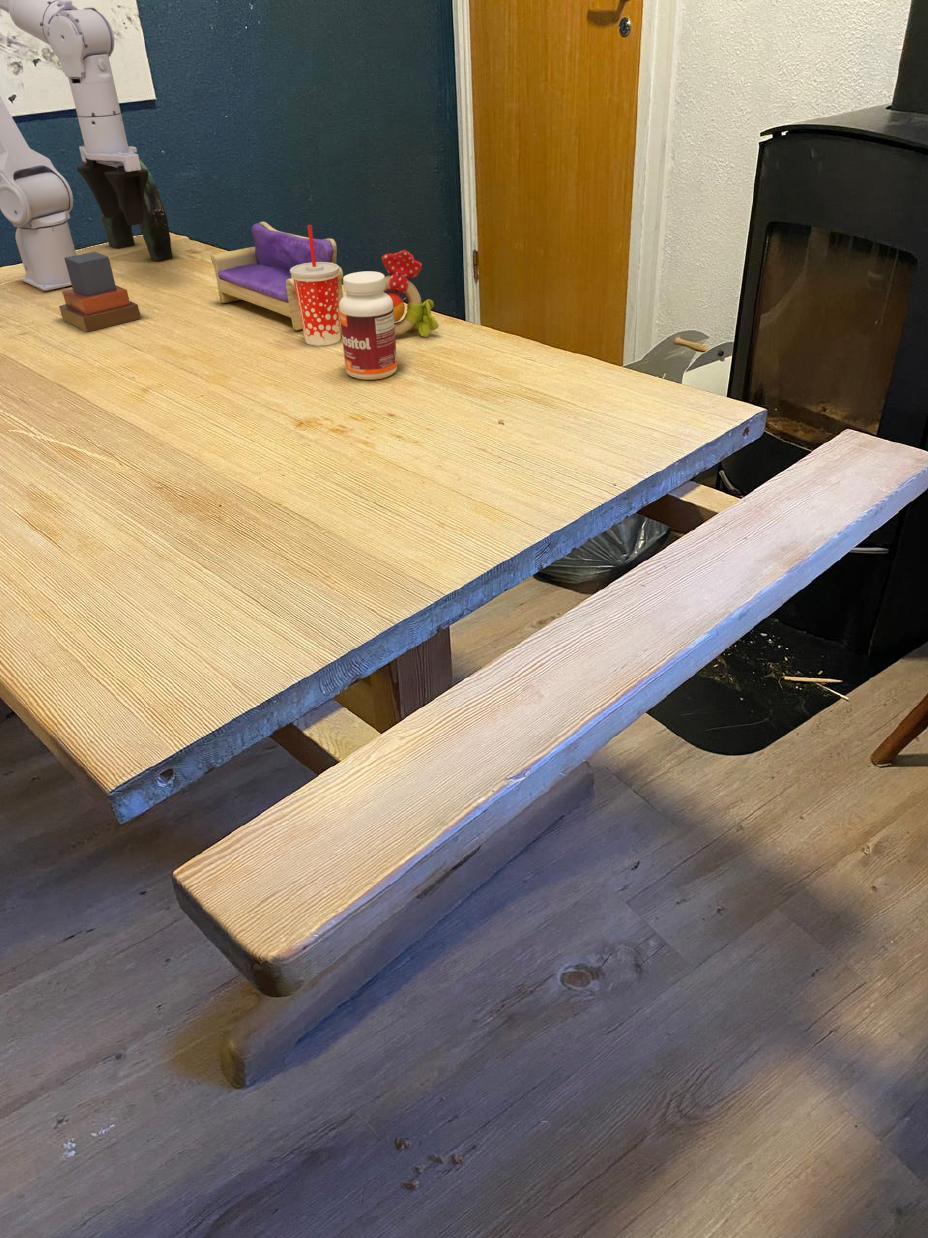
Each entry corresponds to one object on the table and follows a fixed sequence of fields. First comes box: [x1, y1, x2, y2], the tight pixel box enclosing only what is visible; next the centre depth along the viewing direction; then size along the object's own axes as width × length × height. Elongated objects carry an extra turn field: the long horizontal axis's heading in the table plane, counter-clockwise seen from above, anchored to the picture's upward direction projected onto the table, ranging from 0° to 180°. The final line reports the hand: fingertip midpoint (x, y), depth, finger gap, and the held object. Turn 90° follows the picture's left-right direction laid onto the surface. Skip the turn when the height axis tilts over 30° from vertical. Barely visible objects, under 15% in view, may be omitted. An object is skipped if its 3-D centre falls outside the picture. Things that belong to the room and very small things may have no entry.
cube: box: [64, 251, 117, 296], centre depth 124 cm, size 4×4×4 cm
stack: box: [58, 285, 142, 333], centre depth 127 cm, size 8×8×4 cm
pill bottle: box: [339, 270, 398, 381], centre depth 104 cm, size 6×6×11 cm
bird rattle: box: [381, 249, 439, 338], centre depth 115 cm, size 6×11×9 cm
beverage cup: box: [290, 224, 342, 347], centre depth 114 cm, size 6×6×14 cm
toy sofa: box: [210, 221, 344, 331], centre depth 126 cm, size 21×9×10 cm, turn 43°
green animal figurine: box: [82, 143, 173, 262], centre depth 154 cm, size 20×6×20 cm, turn 44°
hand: (123, 220), depth 132 cm, fingers open, 7 cm apart
